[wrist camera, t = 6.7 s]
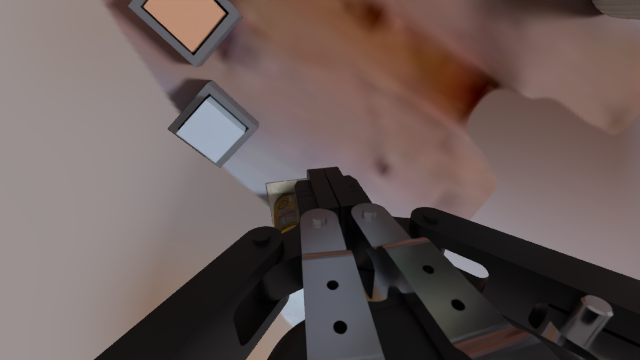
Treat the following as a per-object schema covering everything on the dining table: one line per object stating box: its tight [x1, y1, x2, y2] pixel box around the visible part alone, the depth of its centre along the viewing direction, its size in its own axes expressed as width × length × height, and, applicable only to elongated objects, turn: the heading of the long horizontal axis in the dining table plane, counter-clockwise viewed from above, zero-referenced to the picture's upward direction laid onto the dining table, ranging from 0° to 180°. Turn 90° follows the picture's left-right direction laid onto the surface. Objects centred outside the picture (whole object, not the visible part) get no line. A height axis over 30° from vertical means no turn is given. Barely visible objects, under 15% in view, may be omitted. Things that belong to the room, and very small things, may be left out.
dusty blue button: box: [176, 96, 246, 163], centre depth 32 cm, size 5×5×3 cm
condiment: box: [267, 179, 307, 233], centre depth 37 cm, size 7×8×12 cm
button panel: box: [128, 0, 259, 168], centre depth 28 cm, size 11×36×3 cm, turn 3°
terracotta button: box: [144, 0, 228, 52], centre depth 27 cm, size 5×5×3 cm
